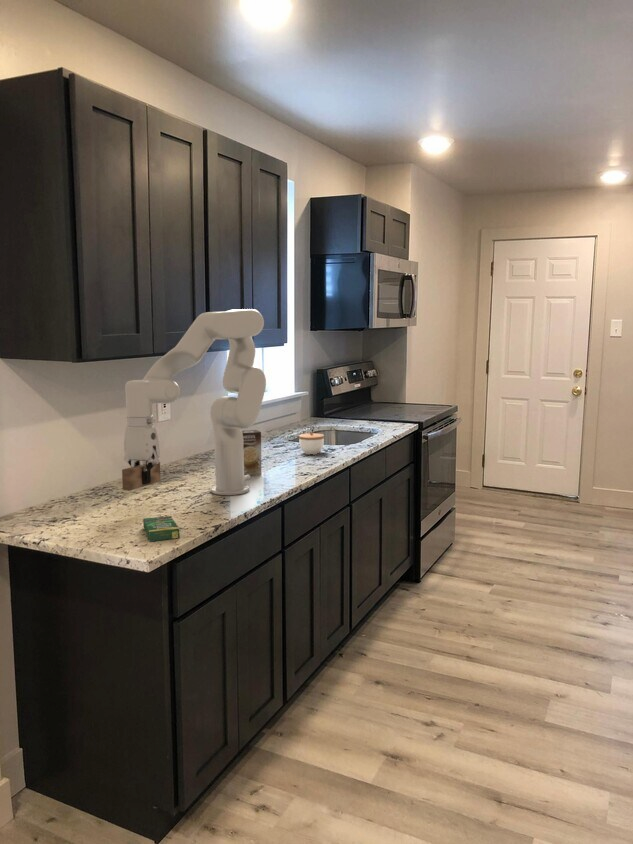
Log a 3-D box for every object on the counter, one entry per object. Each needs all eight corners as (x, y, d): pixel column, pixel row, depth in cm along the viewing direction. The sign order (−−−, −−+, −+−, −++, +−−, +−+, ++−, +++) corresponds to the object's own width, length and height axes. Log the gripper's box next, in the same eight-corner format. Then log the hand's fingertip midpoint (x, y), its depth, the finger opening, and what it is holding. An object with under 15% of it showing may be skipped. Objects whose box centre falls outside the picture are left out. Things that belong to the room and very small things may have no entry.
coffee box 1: (172, 514, 189) (179, 528, 177) (173, 524, 189) (180, 538, 177) (143, 517, 186) (148, 531, 174) (143, 527, 186) (148, 542, 174)
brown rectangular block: (154, 480, 209) (153, 461, 208) (160, 481, 208) (160, 462, 207) (122, 489, 197) (122, 469, 196) (129, 490, 196) (128, 470, 195)
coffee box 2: (237, 477, 246) (236, 433, 244) (233, 473, 252) (232, 430, 250) (262, 474, 249) (261, 431, 247) (257, 471, 255) (256, 429, 253)
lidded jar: (315, 456, 281) (315, 434, 280) (294, 454, 287) (293, 432, 286) (328, 452, 290) (328, 430, 289) (307, 449, 296) (307, 428, 295)
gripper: (169, 422, 200) (171, 483, 202) (127, 418, 207) (129, 478, 209) (153, 425, 193) (155, 488, 196) (109, 422, 200) (112, 483, 203)
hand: (142, 482), depth 202 cm, fingers closed on brown rectangular block, 2 cm apart
